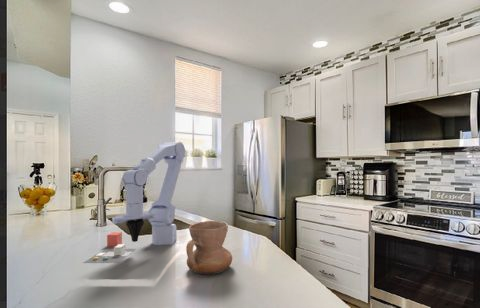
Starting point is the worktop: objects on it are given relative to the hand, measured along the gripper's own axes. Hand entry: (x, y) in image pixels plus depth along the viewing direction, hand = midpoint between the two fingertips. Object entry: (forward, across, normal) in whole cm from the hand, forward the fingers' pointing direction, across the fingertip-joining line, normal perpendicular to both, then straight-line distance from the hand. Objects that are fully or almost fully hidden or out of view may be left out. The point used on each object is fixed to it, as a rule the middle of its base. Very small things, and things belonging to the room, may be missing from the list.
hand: (134, 241), depth 97 cm
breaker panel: (+6, +7, -4) cm, 10 cm away
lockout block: (+6, +3, -17) cm, 18 cm away
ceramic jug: (+6, -15, +26) cm, 30 cm away
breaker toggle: (+5, +4, -4) cm, 7 cm away
